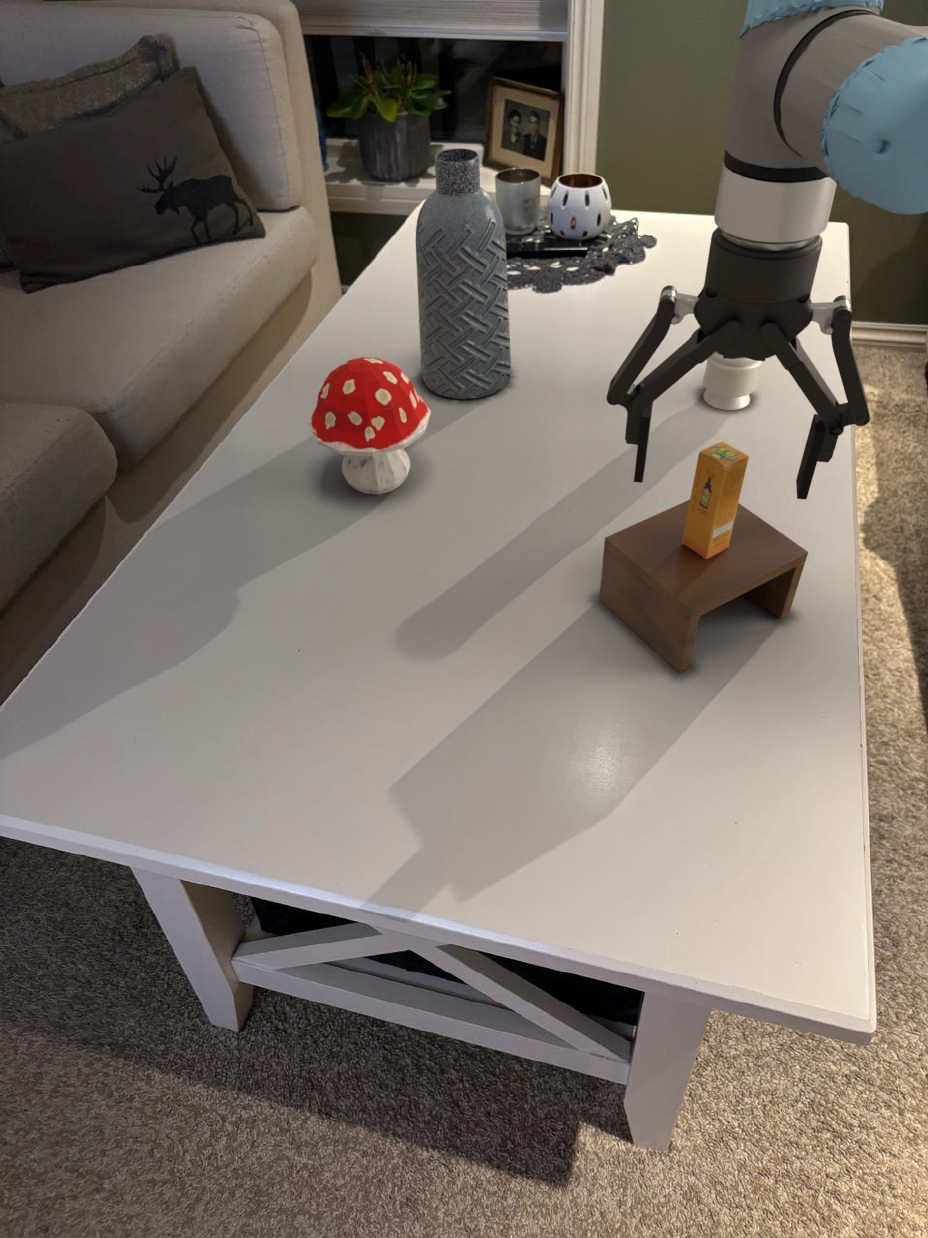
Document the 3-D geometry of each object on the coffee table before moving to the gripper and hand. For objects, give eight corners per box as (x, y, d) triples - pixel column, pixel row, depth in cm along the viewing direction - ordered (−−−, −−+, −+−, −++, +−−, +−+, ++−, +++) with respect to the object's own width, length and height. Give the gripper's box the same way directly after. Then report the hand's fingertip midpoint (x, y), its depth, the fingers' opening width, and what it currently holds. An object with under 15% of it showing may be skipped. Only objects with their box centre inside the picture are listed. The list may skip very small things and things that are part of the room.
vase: (414, 399, 116) (393, 172, 97) (431, 354, 125) (415, 138, 105) (505, 403, 115) (502, 174, 95) (515, 357, 123) (515, 138, 103)
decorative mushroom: (441, 508, 99) (433, 390, 89) (319, 521, 99) (296, 404, 88) (430, 440, 109) (421, 327, 99) (319, 452, 108) (298, 339, 98)
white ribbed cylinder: (750, 384, 116) (773, 272, 105) (757, 412, 111) (783, 297, 100) (697, 383, 116) (715, 272, 106) (702, 411, 111) (721, 297, 101)
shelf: (789, 614, 85) (808, 551, 80) (679, 673, 80) (691, 611, 75) (704, 548, 93) (716, 487, 87) (598, 599, 88) (604, 537, 82)
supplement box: (732, 546, 80) (753, 455, 73) (705, 561, 79) (723, 470, 72) (705, 528, 82) (723, 438, 75) (679, 542, 81) (694, 452, 74)
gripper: (953, 217, 61) (868, 471, 76) (595, 203, 66) (581, 443, 81) (971, 261, 56) (876, 524, 71) (581, 241, 61) (569, 491, 75)
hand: (718, 481), depth 76 cm, fingers open, 13 cm apart
